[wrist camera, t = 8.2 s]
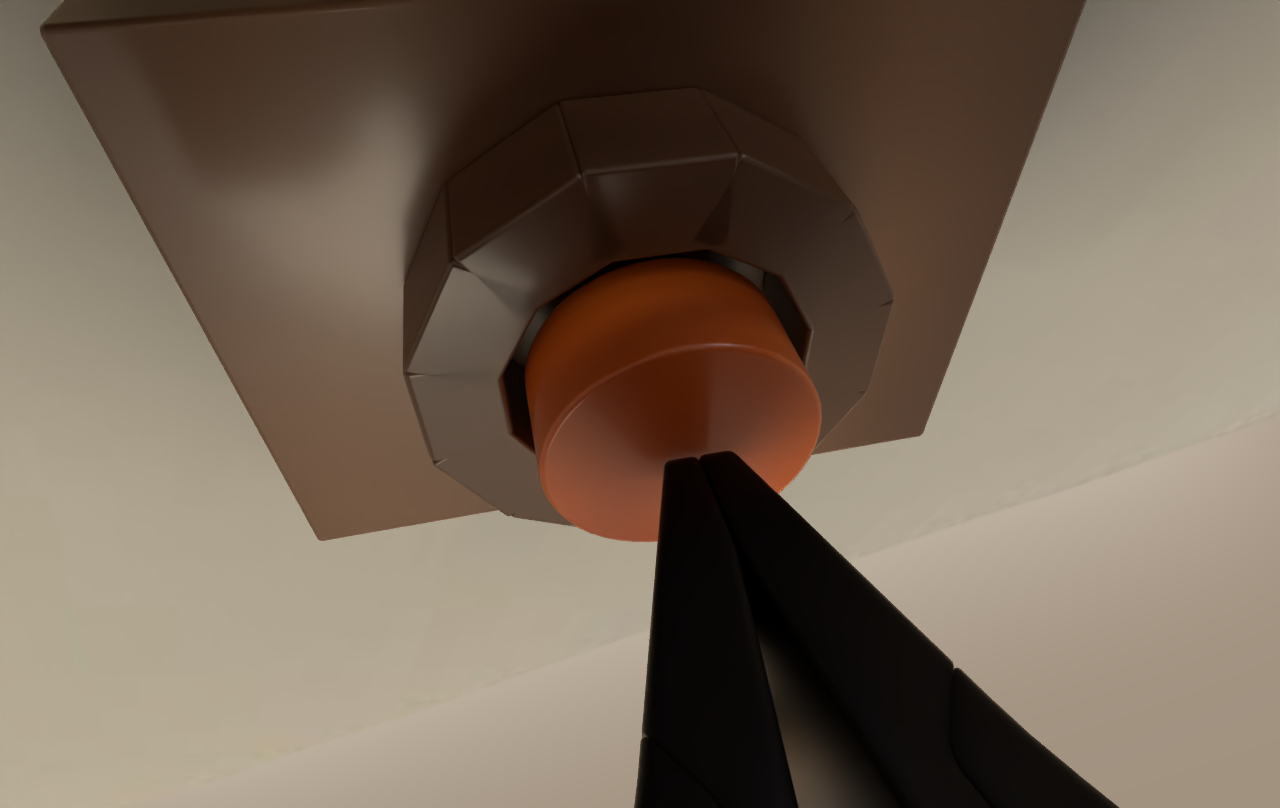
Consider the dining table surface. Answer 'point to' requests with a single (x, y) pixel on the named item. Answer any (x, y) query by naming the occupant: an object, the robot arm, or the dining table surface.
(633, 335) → the button
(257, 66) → the button block
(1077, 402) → the dining table surface
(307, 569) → the dining table surface
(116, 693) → the dining table surface
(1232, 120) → the dining table surface
